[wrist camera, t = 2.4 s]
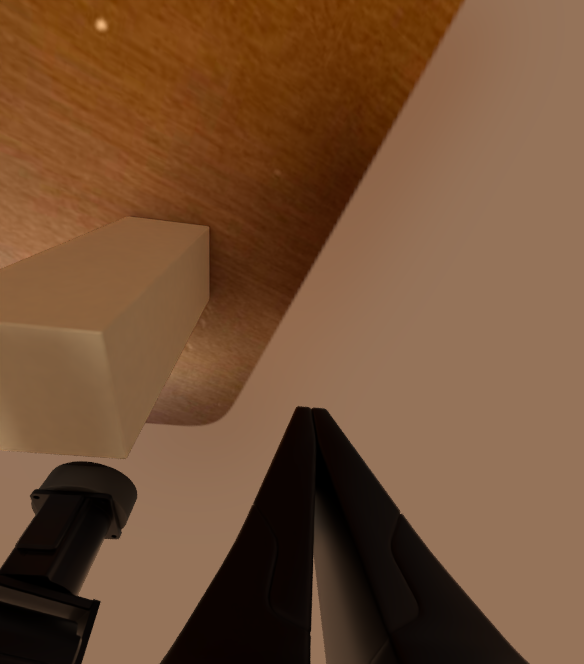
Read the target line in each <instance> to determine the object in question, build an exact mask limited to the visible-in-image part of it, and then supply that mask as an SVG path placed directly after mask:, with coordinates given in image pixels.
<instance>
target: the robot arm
mask: <svg viewBox="0 0 584 664" xmlns="http://www.w3.org/2000/svg"><path fill="white" fill-rule="evenodd" d="M30 497H31V500H32V502H33V504H34V506H35V508H36V510H37V514H36V515H35V517H34V518H33V520H32V521H31V523H30V524H29V526H28V527H27V529H26V530H25V531H24V533H23V534H22V536H21V537H20V539H19V540H18V542H17V543H16V545H15V548H14V549H13V551H12V552H11V553H10V555H9V556H8V558H7V559H6V561H5V562H4V564H3V565H2V567H1V568H0V664H81V663H82V660H83V656H84V654H85V650H86V647H87V644H88V640H89V637H90V634H91V631H92V628H93V624H94V621H95V618H96V615H97V612H98V609H99V605H100V601H98V600H95V599H93V600H89V599H86V598H82V597H79V596H78V594H79V592H80V590H81V587H82V585H83V583H84V581H85V579H86V577H87V575H88V572H89V570H90V568H91V566H92V564H93V562H94V560H95V558H96V556H97V553H98V551H99V549H100V547H101V545H102V543H103V541H104V539H119V538H120V536H121V533H122V532H121V528H120V524H119V520H118V516H117V512H116V508H115V504H114V500H113V497H112V495H110V494H107V493H93V492H76V491H60V490H44V489H36V490H34V491H33V492H32V494H31V495H30ZM313 553H314V560H315V570H316V577H317V587H318V596H319V603H320V611H321V621H322V630H323V638H324V647H325V654H326V664H529V663H528V662H527V661H526V660H525V659H524V658H523V657H522V656H521V655H520V654H519V653H518V652H517V651H516V650H515V649H514V648H513V647H512V646H511V645H510V643H509V642H508V641H507V640H506V639H505V638H504V637H503V636H502V635H501V633H500V632H499V631H498V630H497V629H496V628H495V626H494V625H493V624H492V623H491V622H490V621H489V619H488V618H487V617H486V616H485V615H484V614H483V612H482V611H481V610H480V609H479V608H478V607H477V606H476V604H475V603H474V602H473V601H472V600H471V599H470V597H469V596H468V595H467V594H466V593H465V592H464V590H463V589H462V588H461V587H460V586H459V585H458V583H456V581H455V580H454V579H453V578H452V577H451V575H450V574H449V573H448V572H447V570H446V569H445V568H444V567H443V566H442V565H441V563H440V562H439V561H438V560H437V558H436V557H435V556H434V555H433V554H432V552H431V551H430V550H429V549H428V547H427V546H426V545H425V543H424V542H423V541H422V539H421V538H420V537H419V536H418V534H417V533H416V532H415V530H414V529H413V528H412V526H411V525H410V524H409V522H408V521H407V519H406V518H405V517H404V515H403V514H400V510H399V509H398V507H397V506H396V504H395V503H394V502H393V500H392V499H391V498H390V496H389V495H388V494H387V492H386V491H385V490H384V488H383V487H382V485H381V484H380V482H379V481H378V480H377V478H376V477H375V476H374V474H373V473H372V472H371V470H370V469H369V468H368V466H367V465H366V463H365V462H364V461H363V459H362V458H361V457H360V455H359V454H358V452H357V451H356V449H355V448H354V447H353V445H352V444H351V443H350V441H349V440H348V438H347V437H346V436H345V435H344V433H343V432H342V430H341V429H340V428H339V426H338V425H337V423H336V422H335V421H334V419H333V418H332V417H331V416H330V414H329V412H328V411H327V410H326V409H322V408H312V409H310V408H309V407H299V406H298V407H296V409H295V411H294V413H293V416H292V418H291V420H290V423H289V425H288V427H287V429H286V431H285V434H284V436H283V438H282V440H281V442H280V445H279V447H278V449H277V452H276V454H275V456H274V458H273V460H272V463H271V465H270V467H269V469H268V472H267V474H266V476H265V478H264V480H263V483H262V485H261V487H260V489H259V492H258V494H257V496H256V498H255V501H254V503H253V505H252V507H251V509H250V511H249V514H248V516H247V518H246V520H245V522H244V524H243V526H242V529H241V530H240V533H239V535H238V537H237V539H236V541H235V543H234V544H233V546H232V548H231V550H230V551H229V553H228V555H227V557H226V558H225V560H224V562H223V564H222V566H221V567H220V569H219V571H218V572H217V574H216V575H215V577H214V579H213V580H212V582H211V584H210V585H209V587H208V589H207V590H206V592H205V594H204V596H203V597H202V598H201V600H200V602H199V603H198V605H197V607H196V608H195V610H194V612H193V613H192V615H191V617H190V618H189V620H188V622H187V623H186V625H185V627H184V628H183V630H182V631H181V633H180V634H179V636H178V637H177V639H176V641H175V642H174V644H173V645H172V647H171V648H170V650H169V651H168V653H167V654H166V656H165V657H164V658H163V660H162V661H161V663H160V664H310V642H311V636H310V632H311V613H312V612H311V611H312V581H313V580H312V579H313Z"/></svg>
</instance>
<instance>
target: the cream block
mask: <svg viewBox="0 0 584 664" xmlns="http://www.w3.org/2000/svg"><path fill="white" fill-rule="evenodd" d="M209 299H210V249H209V226H203V225H195V224H187V223H179V222H171V221H163V220H155V219H147V218H139V217H131V216H127V217H125V218H122V219H120V220H117V221H115V222H113V223H110V224H108V225H105V226H103V227H100V228H98V229H96V230H93V231H91V232H88V233H86V234H84V235H81V236H79V237H76V238H74V239H72V240H69V241H67V242H64V243H62V244H59V245H57V246H55V247H52V248H50V249H47V250H45V251H43V252H40V253H38V254H35V255H33V256H31V257H28V258H26V259H23V260H21V261H18V262H16V263H14V264H11V265H9V266H6V267H4V268H2V269H0V450H3V451H17V452H30V453H46V454H59V455H74V456H88V457H103V458H118V459H126V458H127V457H128V455H129V453H130V451H131V449H132V447H133V445H134V443H135V441H136V439H137V437H138V435H139V433H140V432H141V430H142V428H143V426H144V424H145V422H146V420H147V418H148V416H149V414H150V412H151V410H152V409H153V407H154V405H155V403H156V401H157V399H158V397H159V395H160V393H161V391H162V389H163V387H164V385H165V383H166V382H167V380H168V378H169V376H170V374H171V372H172V370H173V368H174V366H175V364H176V362H177V360H178V358H179V357H180V355H181V353H182V351H183V349H184V347H185V345H186V343H187V341H188V339H189V337H190V335H191V333H192V331H193V330H194V328H195V326H196V324H197V322H198V320H199V318H200V316H201V314H202V312H203V310H204V308H205V306H206V304H207V303H208V301H209Z"/></svg>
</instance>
